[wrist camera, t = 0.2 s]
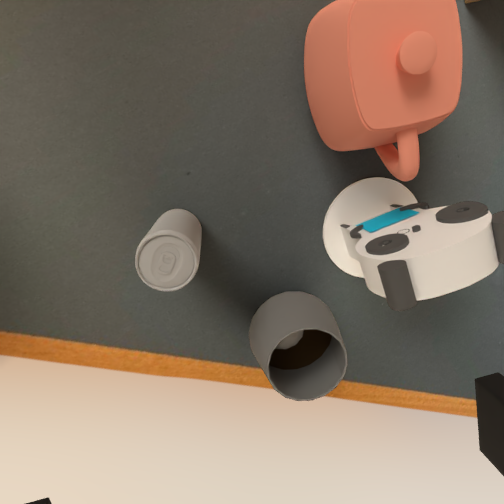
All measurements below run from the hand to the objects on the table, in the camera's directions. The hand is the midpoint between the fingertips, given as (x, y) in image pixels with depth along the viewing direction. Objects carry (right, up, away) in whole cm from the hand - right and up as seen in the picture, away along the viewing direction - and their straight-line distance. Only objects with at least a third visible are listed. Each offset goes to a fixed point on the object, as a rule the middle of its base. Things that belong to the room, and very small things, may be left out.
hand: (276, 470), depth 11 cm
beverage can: (-8, +9, +28) cm, 31 cm away
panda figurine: (+13, +9, +30) cm, 34 cm away
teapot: (+9, +24, +26) cm, 37 cm away
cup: (+3, -1, +32) cm, 32 cm away
